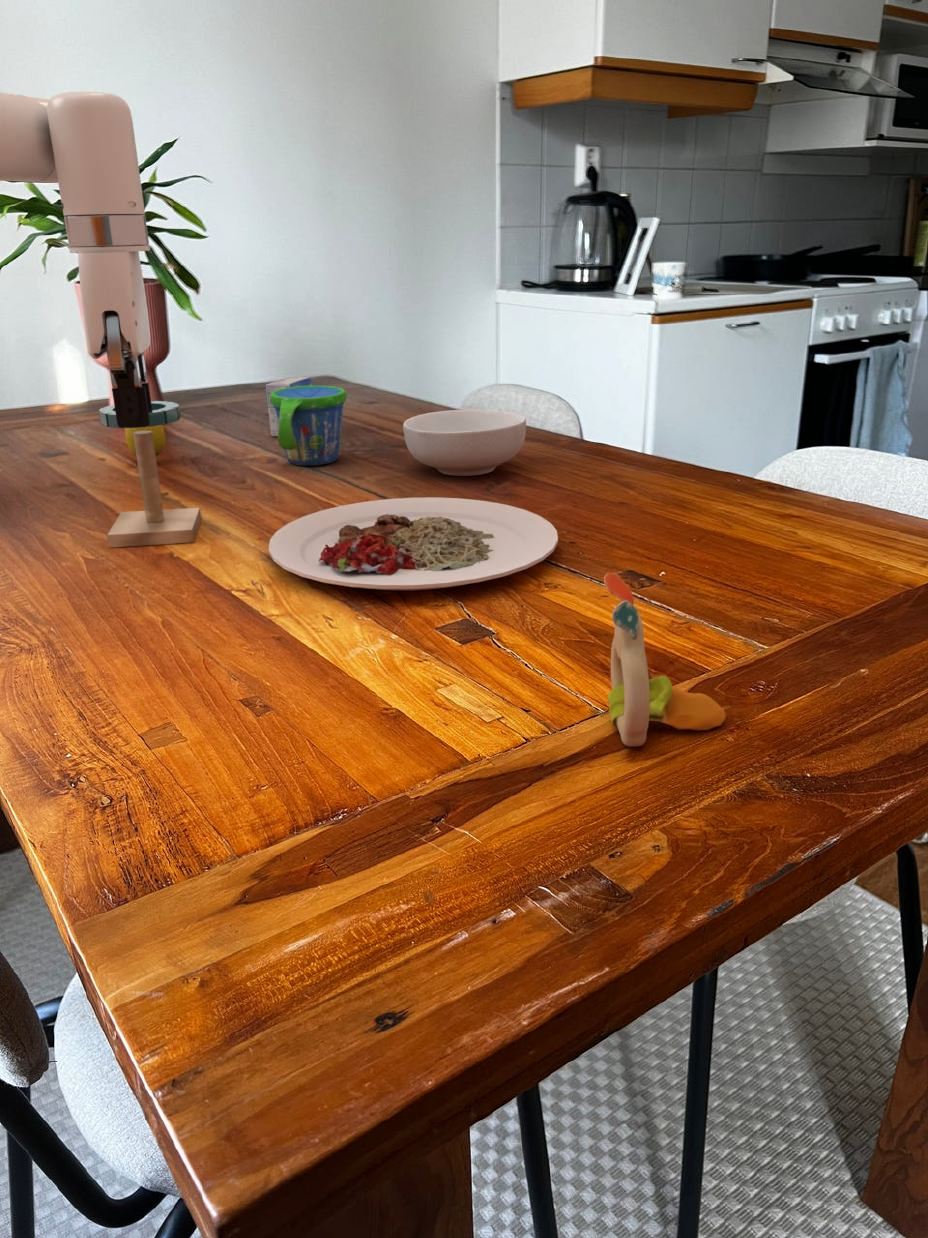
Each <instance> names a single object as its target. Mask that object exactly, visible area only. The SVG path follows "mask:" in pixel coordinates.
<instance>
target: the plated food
mask: <svg viewBox="0 0 928 1238" xmlns="http://www.w3.org/2000/svg"><path fill="white" fill-rule="evenodd" d="M558 537H559V536H558V530H557V529H556V528H555V527H554V525H553V524H552V523H551V522H550V521H548V520H547V519H545V518H544V517H542V516H541V515H539V514H536V513H534V512H531V511H529V510H527V509H523V508H520V507H517V506H516V507H515V506H512V505H508V504H505V503H498V502H493V501H487V500H479V499H470V498H458V497H439V496H438V497H437V496H435V497H433V496H432V497H401V498H386V499H377V500H368V501H362V502H361V501H360V502H355V503H349V504H343V505H338V506H335V507H331V508H326V509H321V510H318V511H316V512H313V513H310V514H307V515H304V516H301V517H299V518H297V519H295V520H292V521H290V522H288V523H286V524H285V525H283V526H282V527H280V528H279V529H278V530H276V532H274V533H273V535H272V536H271V538H270V539H269V544H268V553H269V555H270V556H271V559H272V561H273V562H275V564H277V565H278V566H280V567H281V568H282V569H284V570H286V571H287V572H290V573H293V574H295V575H296V576H299V577H301V578H306V579H310V580H314V581H317V582H320V583H324V584H331V585H338V586H344V587H350V588H361V589H367V590H368V589H369V590H380V591H381V590H382V591H424V590H438V589H445V588H452V587H460V586H465V585H469V584H474V583H475V584H477V583H481V582H484V581H489V580H493V579H498V578H502V577H503V578H504V577H506V576H509V575H512V574H514V573H518V572H520V571H523V570H527V569H528V568H530V567H533V566H535V565H537V564H538V563H541V562H543V561H544V560H546V558H547V557H549V556H550V555H551V554H552V553H554V552H555V549H556V548H557V545H558V544H559V538H558Z"/></svg>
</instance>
